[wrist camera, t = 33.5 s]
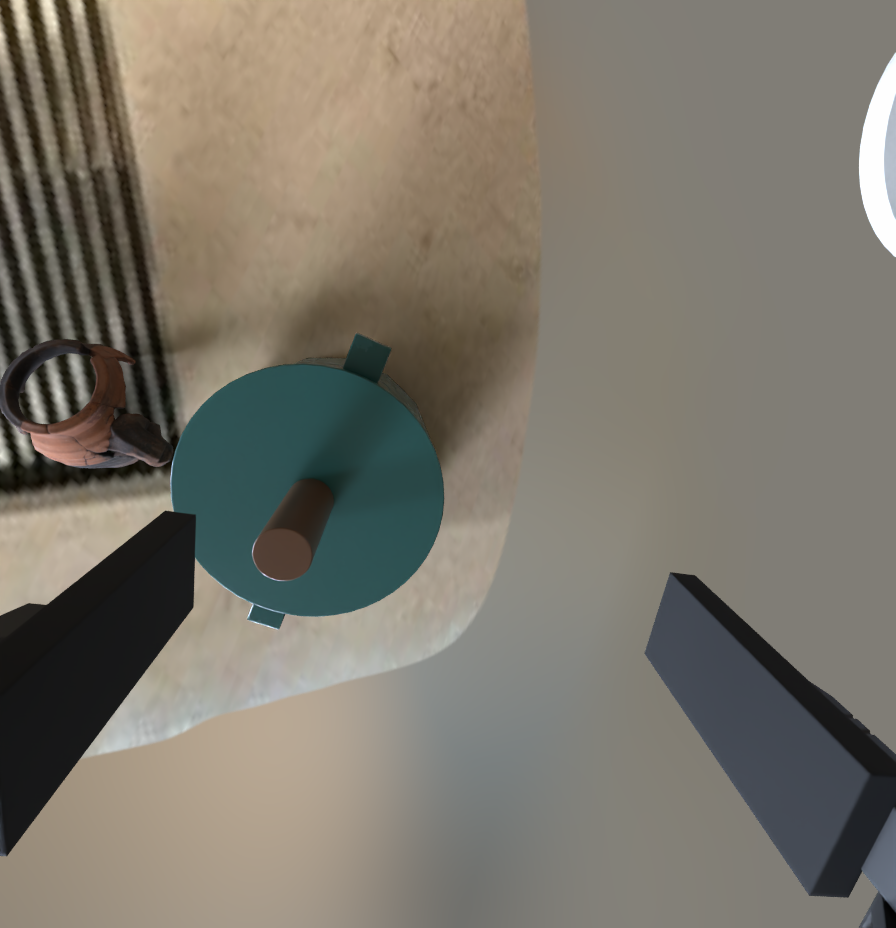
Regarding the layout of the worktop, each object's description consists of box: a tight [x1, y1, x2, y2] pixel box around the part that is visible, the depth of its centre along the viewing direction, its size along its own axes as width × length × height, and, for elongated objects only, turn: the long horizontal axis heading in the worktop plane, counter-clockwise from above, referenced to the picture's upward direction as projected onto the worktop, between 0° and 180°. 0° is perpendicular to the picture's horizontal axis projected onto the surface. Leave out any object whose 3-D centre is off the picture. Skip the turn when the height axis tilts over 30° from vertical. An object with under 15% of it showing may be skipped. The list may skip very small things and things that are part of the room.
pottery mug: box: [0, 339, 173, 468], centre depth 39 cm, size 12×10×8 cm
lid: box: [170, 363, 444, 617], centre depth 30 cm, size 18×18×9 cm
